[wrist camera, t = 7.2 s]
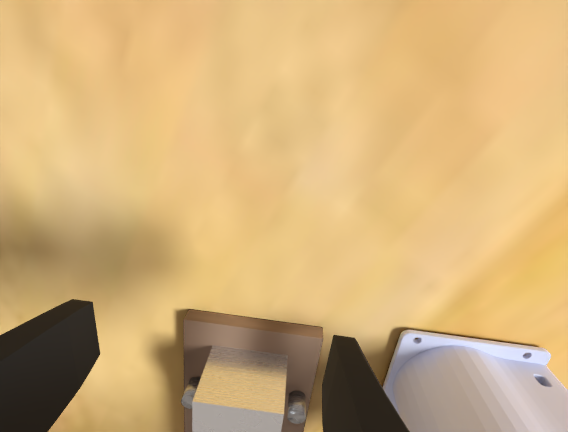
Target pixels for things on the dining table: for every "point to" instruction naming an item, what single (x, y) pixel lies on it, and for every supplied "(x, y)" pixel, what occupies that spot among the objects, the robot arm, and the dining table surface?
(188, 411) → the board
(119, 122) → the dining table surface
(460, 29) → the dining table surface
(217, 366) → the gray notched block
